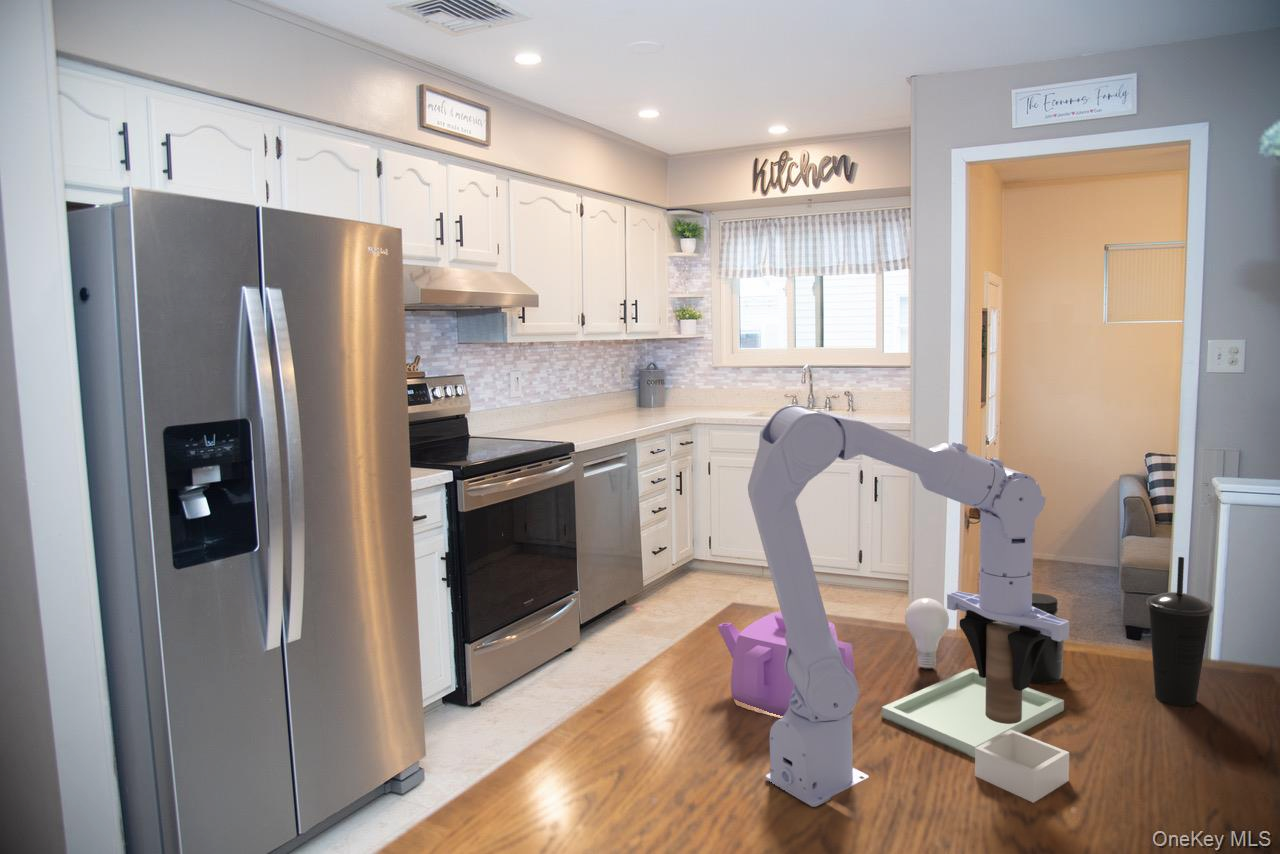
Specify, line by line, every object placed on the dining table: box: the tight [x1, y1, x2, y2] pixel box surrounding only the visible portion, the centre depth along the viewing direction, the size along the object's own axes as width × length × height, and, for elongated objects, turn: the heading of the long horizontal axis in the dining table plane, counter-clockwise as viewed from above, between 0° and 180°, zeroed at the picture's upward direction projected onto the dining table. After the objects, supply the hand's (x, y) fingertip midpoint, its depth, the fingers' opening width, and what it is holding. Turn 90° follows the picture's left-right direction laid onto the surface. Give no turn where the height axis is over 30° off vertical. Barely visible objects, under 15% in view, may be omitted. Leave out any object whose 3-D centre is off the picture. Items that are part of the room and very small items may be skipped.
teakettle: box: [717, 611, 856, 716], centre depth 124 cm, size 17×17×12 cm
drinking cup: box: [1146, 556, 1214, 707], centre depth 118 cm, size 8×8×20 cm
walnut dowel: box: [985, 621, 1022, 724], centre depth 103 cm, size 4×4×11 cm
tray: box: [881, 667, 1065, 759], centre depth 116 cm, size 20×14×2 cm
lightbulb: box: [904, 597, 950, 670], centre depth 132 cm, size 6×6×11 cm
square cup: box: [974, 729, 1070, 804], centre depth 100 cm, size 7×7×4 cm
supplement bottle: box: [1030, 592, 1065, 685], centre depth 128 cm, size 7×7×12 cm
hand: (1003, 681), depth 103 cm, fingers closed on walnut dowel, 4 cm apart
